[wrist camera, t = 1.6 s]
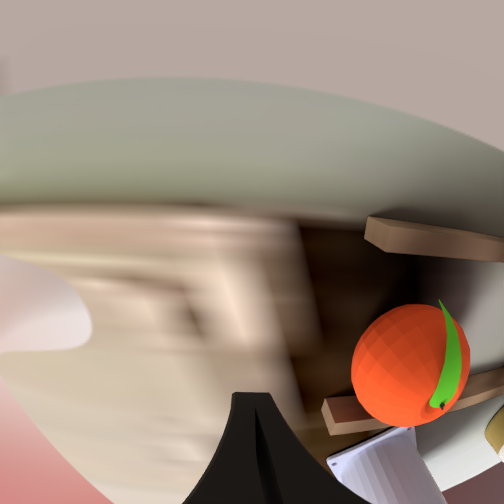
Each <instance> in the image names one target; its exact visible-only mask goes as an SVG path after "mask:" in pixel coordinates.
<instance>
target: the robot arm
mask: <svg viewBox="0 0 504 504" xmlns="http://www.w3.org/2000/svg"><path fill="white" fill-rule="evenodd" d="M327 464H328V465H329V467H330V468H331V470H332V472H333V473H334V475H335V476H336V478H337V479H338V480H337V479H336V478H334V477H333V476H332V475H331V474H330V473H329V472H328V471H327V470H326V469H324V468H323V467H322V466H321V465H320V464H319V463H318V462H317V461H316V459H315V458H314V457H313V456H312V455H311V454H310V453H309V452H308V451H307V449H306V448H305V447H304V446H303V445H302V443H301V442H300V441H299V439H298V438H297V437H296V435H295V434H294V433H293V431H292V430H291V428H290V427H289V425H288V424H287V422H286V421H285V419H284V418H283V416H282V414H281V413H280V411H279V409H278V408H277V406H276V404H275V402H274V400H273V398H272V396H271V394H269V393H255V392H235V393H233V394H232V399H231V410H230V414H229V418H228V421H227V424H226V427H225V430H224V433H223V436H222V438H221V440H220V443H219V445H218V447H217V450H216V452H215V454H214V456H213V458H212V460H211V462H210V463H209V465H208V467H207V469H206V470H205V472H204V474H203V475H202V477H201V478H200V480H199V482H198V483H197V485H196V486H195V488H194V489H193V490H192V492H191V493H190V494H189V496H188V497H187V498H186V500H185V501H184V502H183V503H182V504H447V502H446V500H445V499H444V497H443V495H442V493H441V491H440V489H439V488H438V486H437V484H436V482H435V480H434V479H433V477H432V475H431V473H430V471H429V470H428V468H427V466H426V464H425V463H424V461H423V459H422V457H421V456H420V454H419V452H418V450H417V444H416V434H415V426H413V427H399V426H395V427H393V428H391V429H389V430H387V431H385V432H383V433H381V434H379V435H377V436H375V437H373V438H371V439H369V440H367V441H365V442H363V443H361V444H358V445H356V446H354V447H352V448H349V449H347V450H345V451H342V452H340V453H337V454H335V455H333V456H330V457H328V458H327Z"/></svg>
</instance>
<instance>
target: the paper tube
mask: <svg viewBox="0 0 504 504" xmlns="http://www.w3.org/2000/svg"><path fill="white" fill-rule="evenodd" d="M485 438H486V439H487V441H488V442H489V443H490V445H491V446H492V447H493V449H494V450H495V451H496V453H497V454H498V456H499V457H500V458H501V460H502V461H503V462H504V407H502V408H501V409H500V411H499V412H498V413H497V414H496V415H495V416H494V417H493V419H492V420H491V421H490V423H489V425H488V426H487V428H486V431H485Z"/></svg>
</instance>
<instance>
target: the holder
mask: <svg viewBox="0 0 504 504" xmlns="http://www.w3.org/2000/svg"><path fill="white" fill-rule="evenodd" d="M364 239H366V240H367V241H369V242H371V243H372V244H374V245H375V246H377V247H378V248H380V249H382V250H383V251H385V252H392V253H404V254H415V255H427V256H438V257H449V258H460V259H471V260H482V261H493V262H503V263H504V238H503V237H498V236H493V235H487V234H481V233H476V232H470V231H464V230H458V229H452V228H446V227H440V226H433V225H427V224H420V223H413V222H406V221H399V220H392V219H385V218H377V217H369V216H368V218H367V224H366V231H365V236H364ZM502 394H504V366H503V367H502V368H498V369H495V370H491V371H488V372H484V373H480V374H477V375H473V376H469V377H468V379H467V382H466V384H465V386H464V389H463V391H462V393H461V395H460V396H459V398H458V399H457V401H456V402H455V403H454V405H453V406H452V407H451V408H450V409H449V410H448V411H447V412H445V413H449V412H452V411H456V410H459V409H462V408H465V407H468V406H471V405H474V404H477V403H480V402H483V401H486V400H489V399H491V398H494V397H497V396H499V395H502ZM321 411H322V413H323V416H324V419H325V422H326V425H327V427H328V430H329V433H330V435H338V434H346V433H354V432H361V431H367V430H373V429H379V428H385V427H390V426H393V425H389V424H386V423H383V422H381V421H380V420H378V419H376V418H375V417H373V416H372V415H371V414H370V413H368V412H367V411H366V410H365V408H364V407H363V406H362V404H361V403H360V402H359V400H358V398H357V395H356V396H345V397H333V398H325V400H324V403H323V406H322V409H321ZM445 413H444V414H445Z"/></svg>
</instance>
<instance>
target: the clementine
mask: <svg viewBox="0 0 504 504" xmlns="http://www.w3.org/2000/svg"><path fill="white" fill-rule="evenodd" d="M438 300H439V299H438ZM439 303H440V305H441V308H442V310H443V311H442V310H440V309H439V308H436V307H433V306H430V305H425V304H406V305H403V306H400V307H396V308H394V309H392V310H390V311H388V312H386V313H385V314H383V315H381V316H380V317H378V318H377V319H376V320H375V321H374V322H373V323H371V325H370V326H369V327H368V328H367V330H366V331H365V332H364V333H363V335H362V337H361V338H360V340H359V342H358V344H357V346H356V348H355V351H354V355H353V359H352V383H353V387H354V390H355V393H356V395H357V398H358V400H359V402H360V403H361V404H362V406H363V407H364V408H365V410H366V411H367V412H368V413H370V414H371V415H372V416H373V417H375V418H376V419H378V420H380V421H381V422H383V423H386V424H389V425H393V426H399V427H413V426H417V425H421V424H425V423H428V422H430V421H433V420H435V419H437V418H438V417H440V416H441V415H443V414H444V413H445V412H447V411H448V410H449V409H450V408H451V407H452V406H453V405H454V403H455V402H456V401H457V399H458V398H459V396H460V395H461V393H462V391H463V389H464V386H465V384H466V382H467V379H468V375H469V372H470V348H469V345H468V342H467V339H466V337H465V334H464V332H463V329H462V328H461V327H460V326H459V324H458V323H457V322H456V321H455V320H454V319H453V318H452V317H451V316H450V314H449V313H448V311H447V310H446V309H445V307H444V306H443V304H442V303H441V301H440V300H439Z"/></svg>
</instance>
